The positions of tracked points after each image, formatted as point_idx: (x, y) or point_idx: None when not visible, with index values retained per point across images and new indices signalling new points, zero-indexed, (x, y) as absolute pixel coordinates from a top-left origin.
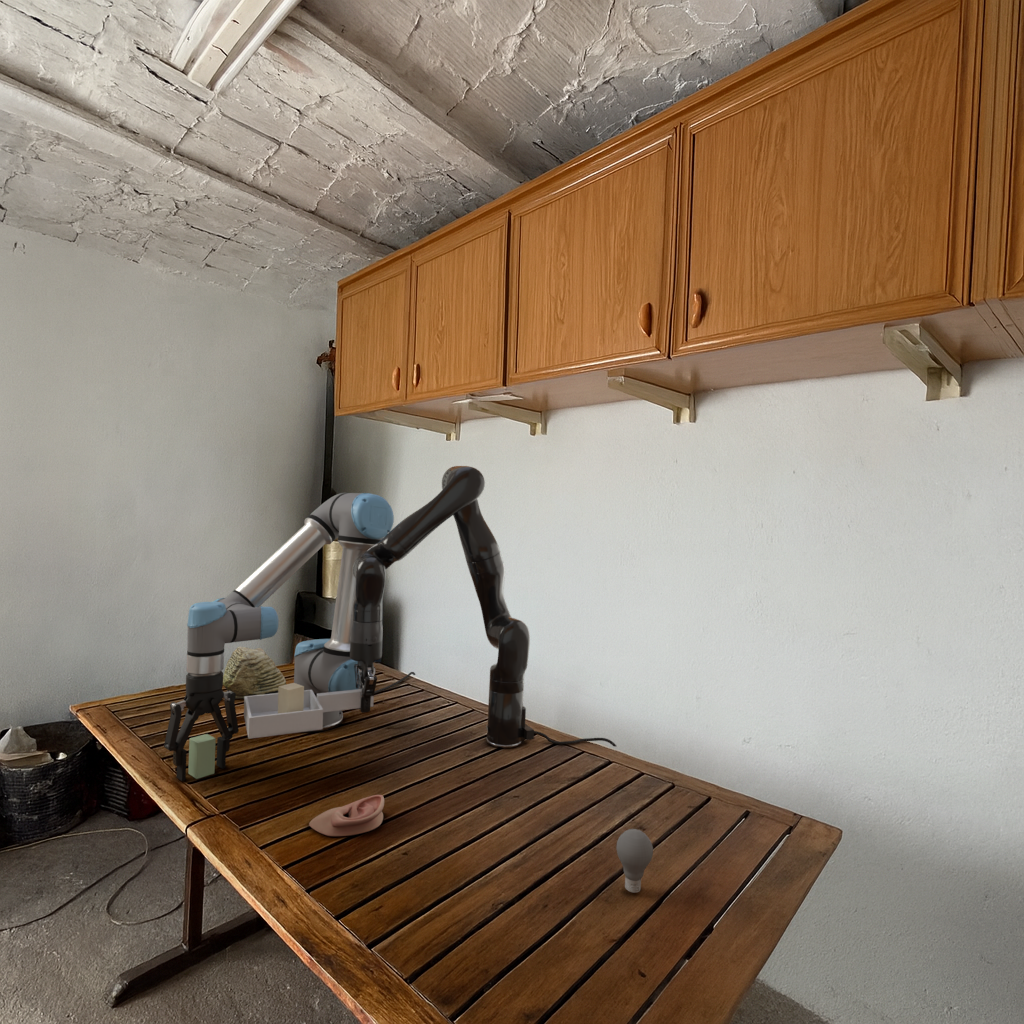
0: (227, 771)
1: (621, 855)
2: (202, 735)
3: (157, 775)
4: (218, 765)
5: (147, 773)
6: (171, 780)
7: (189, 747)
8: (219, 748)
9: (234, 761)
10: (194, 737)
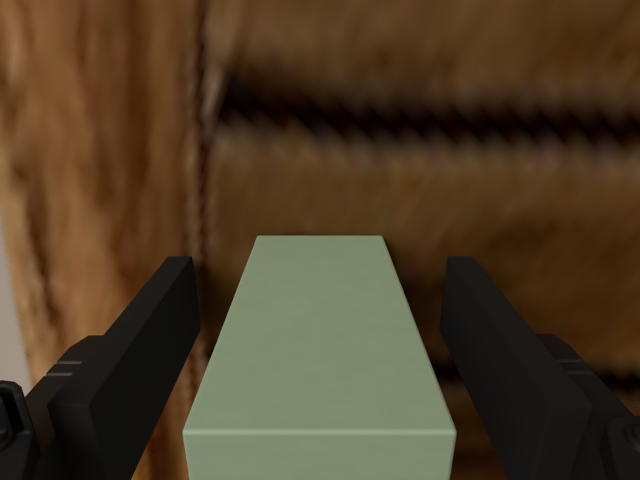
0: (446, 361)
1: None
2: (370, 451)
3: (77, 108)
4: (446, 289)
5: (17, 7)
6: (138, 256)
7: (214, 356)
8: (493, 372)
9: (574, 259)
10: (251, 445)
